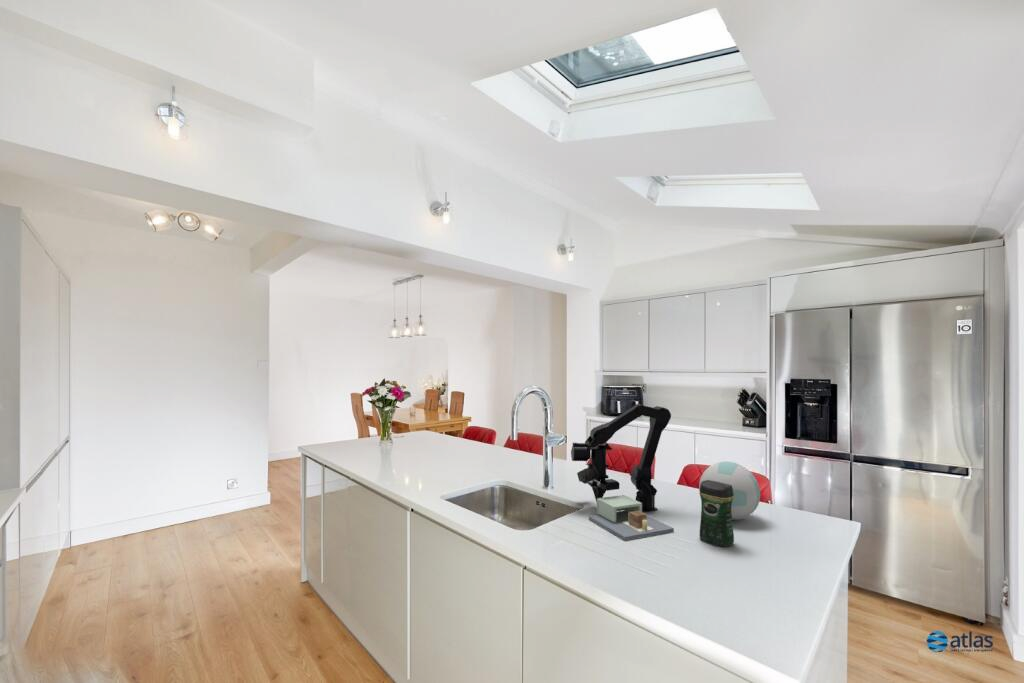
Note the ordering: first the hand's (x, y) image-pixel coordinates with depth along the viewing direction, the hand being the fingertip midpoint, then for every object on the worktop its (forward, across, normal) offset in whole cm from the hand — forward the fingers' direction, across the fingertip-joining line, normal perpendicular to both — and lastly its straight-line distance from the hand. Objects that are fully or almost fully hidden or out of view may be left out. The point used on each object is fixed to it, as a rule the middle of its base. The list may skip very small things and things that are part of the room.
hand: (598, 502), depth 172 cm
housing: (+1, +11, 0) cm, 11 cm away
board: (+2, +19, 0) cm, 19 cm away
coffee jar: (+2, +40, +17) cm, 43 cm away
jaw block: (+1, +23, 0) cm, 23 cm away
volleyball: (+2, +26, +39) cm, 47 cm away
